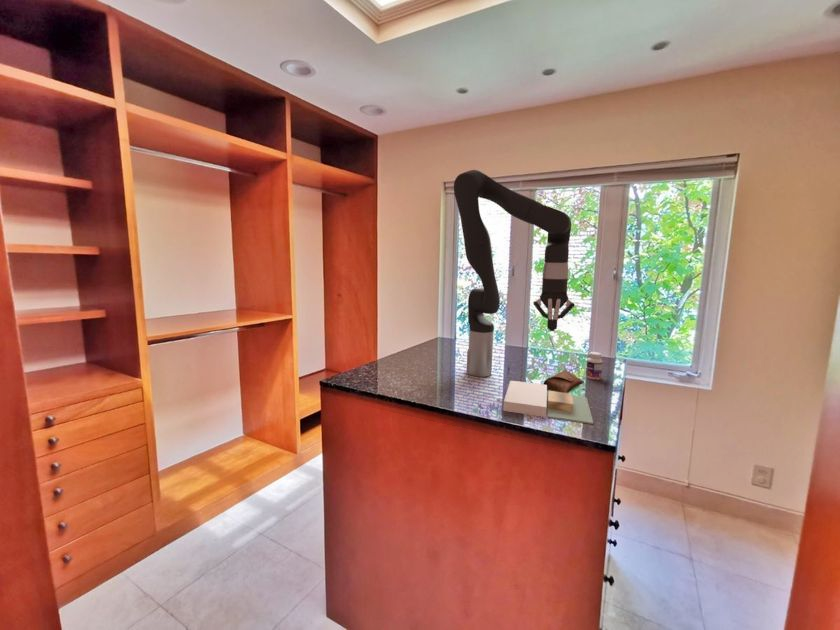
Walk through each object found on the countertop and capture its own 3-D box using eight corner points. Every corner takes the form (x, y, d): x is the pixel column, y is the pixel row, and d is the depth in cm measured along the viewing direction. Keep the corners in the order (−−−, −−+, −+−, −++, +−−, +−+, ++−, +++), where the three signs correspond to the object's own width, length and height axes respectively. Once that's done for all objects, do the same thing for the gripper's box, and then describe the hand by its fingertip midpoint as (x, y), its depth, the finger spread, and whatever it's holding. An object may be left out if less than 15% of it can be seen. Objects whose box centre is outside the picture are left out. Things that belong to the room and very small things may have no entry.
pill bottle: (582, 375, 146) (585, 351, 144) (596, 375, 146) (598, 351, 144) (590, 379, 140) (592, 355, 139) (603, 379, 141) (606, 354, 139)
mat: (547, 417, 106) (547, 416, 106) (547, 393, 125) (547, 392, 125) (593, 424, 103) (593, 422, 102) (586, 398, 121) (586, 397, 121)
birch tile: (547, 408, 112) (548, 400, 111) (548, 398, 120) (548, 390, 120) (572, 412, 109) (573, 404, 109) (571, 401, 118) (571, 393, 117)
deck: (503, 410, 110) (503, 401, 110) (509, 388, 129) (510, 380, 129) (545, 417, 107) (546, 407, 106) (546, 393, 125) (546, 384, 125)
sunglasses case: (567, 394, 125) (558, 375, 126) (548, 399, 129) (540, 381, 131) (585, 381, 138) (577, 364, 139) (568, 386, 143) (560, 370, 144)
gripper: (533, 277, 115) (530, 331, 118) (579, 278, 112) (575, 334, 115) (532, 275, 123) (530, 327, 126) (575, 276, 119) (572, 329, 122)
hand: (551, 330), depth 120 cm, fingers closed
